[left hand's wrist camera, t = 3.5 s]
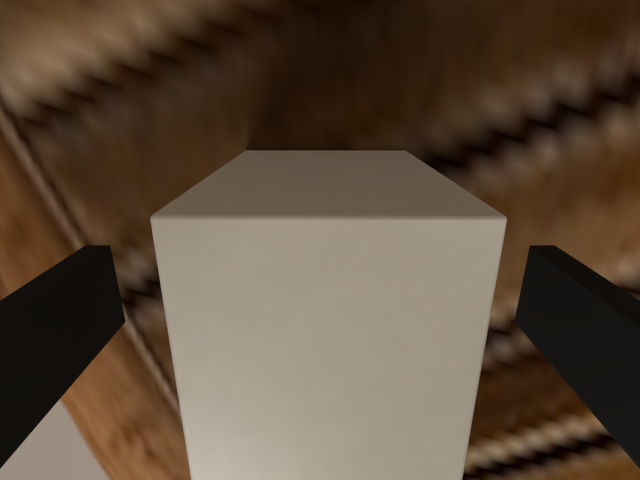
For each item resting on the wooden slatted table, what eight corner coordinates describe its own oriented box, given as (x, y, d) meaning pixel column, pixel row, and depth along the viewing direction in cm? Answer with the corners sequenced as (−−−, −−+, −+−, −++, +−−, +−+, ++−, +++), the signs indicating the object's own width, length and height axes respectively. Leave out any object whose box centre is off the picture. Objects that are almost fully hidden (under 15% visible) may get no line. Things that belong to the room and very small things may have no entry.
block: (244, 150, 16) (147, 215, 7) (406, 150, 16) (509, 216, 7) (255, 315, 18) (194, 511, 10) (394, 316, 18) (457, 512, 10)
